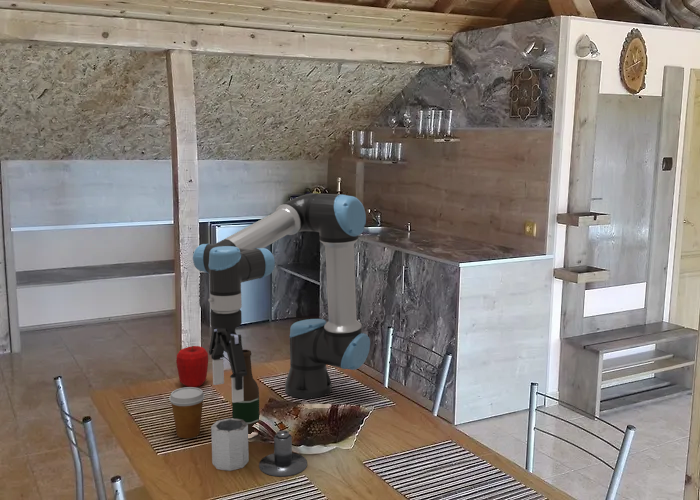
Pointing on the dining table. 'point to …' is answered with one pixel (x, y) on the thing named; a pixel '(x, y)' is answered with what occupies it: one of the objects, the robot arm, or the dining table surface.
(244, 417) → the beer bottle
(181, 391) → the disposable coffee cup
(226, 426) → the sleeve
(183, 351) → the apple
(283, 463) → the duct stub
